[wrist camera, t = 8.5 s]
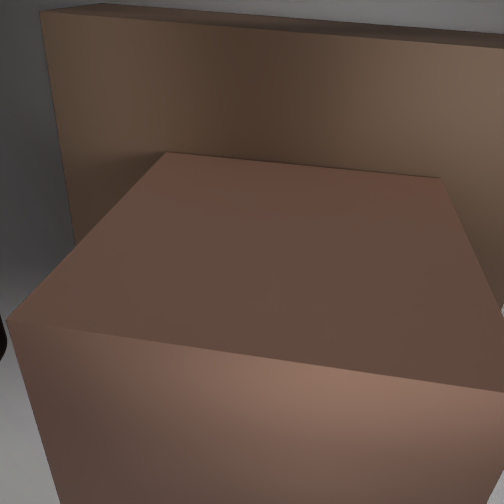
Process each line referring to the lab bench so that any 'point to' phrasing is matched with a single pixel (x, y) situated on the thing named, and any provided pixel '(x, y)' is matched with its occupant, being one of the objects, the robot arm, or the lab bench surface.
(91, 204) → the walnut block
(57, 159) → the lab bench surface
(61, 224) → the lab bench surface
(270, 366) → the terracotta cube
